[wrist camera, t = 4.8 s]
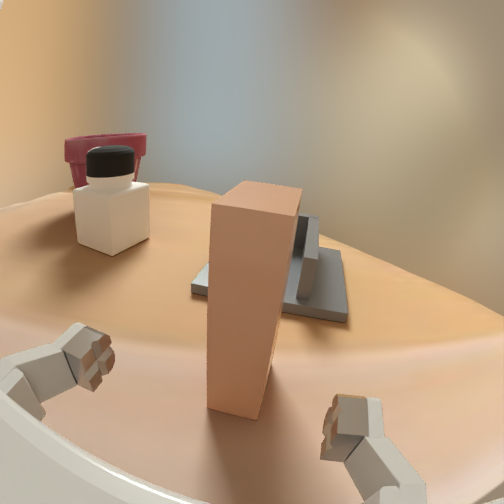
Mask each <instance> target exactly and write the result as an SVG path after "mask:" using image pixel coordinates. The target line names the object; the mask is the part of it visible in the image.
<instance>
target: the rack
mask: <svg viewBox="0 0 504 504" xmlns="http://www.w3.org/2000/svg"><path fill="white" fill-rule="evenodd" d="M208 272H209V262H208V263H207V264H206V265H205V267H204V268H203V269H202V270H201V271H200V273H199V274H198V275H197V276H196V278H195V279H194V280H193V281H192V283H191V292H192V293H196V294H200V295H205V296H208ZM282 312H286V313H292V314H297V315H303V316H308V317H314V318H319V319H325V320H331V321H337V322H343V323H345V321H346V318H347V315H348V308H347V299H346V290H345V282H344V274H343V267H342V260H341V253H340V251H339V250H334V249H328V248H323V247H319V216H315V215H309V214H304V213H299V216H298V222H297V228H296V234H295V240H294V247H293V252H292V258H291V264H290V270H289V276H288V281H287V287H286V292H285V298H284V303H283V308H282Z"/></svg>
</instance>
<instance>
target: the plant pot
mask: <svg viewBox="0 0 504 504" xmlns="http://www.w3.org/2000/svg"><path fill="white" fill-rule="evenodd" d="M108 145H125V146H129V147H131V148H133V149H134V151H135V162H134V179H132V182H136V179H137V174H138V169H139V164H140V159H141V156H144V155H145V154H146V134H145V133H124V134H102V135H90V136H80V137H73V138H68V139H66V140H65V161H66V162H69V163H70V168H71V173H72V177H73V182H74V186H75V189H76V188H80V187H83V186H87V185H89V183H87V180H86V154H87V152H88V151H90V150H91V149H93V148H96V147H101V146H108Z"/></svg>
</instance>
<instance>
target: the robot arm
mask: <svg viewBox="0 0 504 504" xmlns="http://www.w3.org/2000/svg"><path fill="white" fill-rule="evenodd" d="M2 4H3V0H0V9H1V7H2ZM111 343H112V342H111V339H110V336H109V335H107V334H104V333H102V332H100V331H97V330H95V329H93V328H91V327H88V326H86V325H84V324H82V323H79V322H77V323H74V324H73V325H72V326H71V327H70V328H69V329H68V330H67V331H66V332H64V333H63V334H62V335H61V336H60V337H59V338H58V339H57V340H56V341H55V342H54V343H53V344H52V345H51V344H45V345H42V346H39V347H35V348H32V349H28V350H25V351H22V352H18V353H15V354H11V355H8V356H4V357H3V358H2V359H0V504H211V503H207V502H204V501H201V500H197V499H194V498H191V497H188V496H185V495H182V494H179V493H176V492H173V491H171V490H168V489H165V488H162V487H160V486H157V485H155V484H152V483H150V482H148V481H145V480H143V479H140V478H138V477H136V476H134V475H131V474H129V473H127V472H125V471H123V470H121V469H119V468H117V467H115V466H113V465H111V464H109V463H107V462H105V461H103V460H101V459H99V458H97V457H96V456H94V455H92V454H90V453H88V452H87V451H85V450H83V449H82V448H80V447H78V446H77V445H75V444H73V443H72V442H70V441H68V440H67V439H65V438H64V437H62V436H61V435H59V434H58V433H56V432H55V431H53V430H52V429H50V428H49V427H47V426H46V425H45V424H43V423H42V422H40V421H41V420H42V419H43V417H44V416H45V415H46V412H45V410H44V408H43V407H42V405H41V402H44V401H46V400H48V399H50V398H52V397H54V396H56V395H58V394H60V393H62V392H64V391H66V390H69V389H71V388H73V387H75V386H77V385H79V386H81V387H83V388H85V389H88V390H90V391H92V392H94V391H95V390H96V389H97V387H98V386H99V385H100V384H101V382H102V376H103V375H106V374H109V372H110V371H111V370H112V368H113V365H114V362H115V354H114V351H113V350H112V348H111V347H110V344H111ZM322 433H323V435H324V436H325V438H324V440H323V442H322V443H321V454H320V460H328V461H336V462H344V465H345V467H346V469H347V471H348V472H349V474H350V476H351V478H352V480H353V482H354V483H355V485H356V487H357V489H358V491H359V493H360V494H361V496H362V498H363V500H364V502H363V503H362V504H427V493H426V483H425V482H424V480H423V479H422V478H421V477H420V476H419V474H418V473H417V472H416V471H415V469H414V468H413V467H412V466H411V464H410V463H409V462H408V461H407V460H406V458H405V457H404V456H403V455H402V453H401V452H400V451H399V450H398V448H397V447H396V446H395V445H394V443H393V442H392V441H391V440H390V438H387V437H385V433H384V422H383V413H382V404H381V400H380V398H372V397H364V396H353V395H344V394H336V395H335V397H334V399H333V402H332V407H330V408H329V409H328V411H327V413H326V416H325V419H324V424H323V432H322ZM484 504H504V497H503V498H500V499H496V500H494V501H490V502H487V503H484Z"/></svg>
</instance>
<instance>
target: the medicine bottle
mask: <svg viewBox="0 0 504 504" xmlns="http://www.w3.org/2000/svg"><path fill="white" fill-rule="evenodd" d="M134 162H135V151H134V149H133V148H131V147H129V146H125V145H108V146H101V147H96V148H93V149H91V150H90V151H88V152H87V154H86V180H87V183H89V185H87V186H83V187H80V188H76V189H74V190H73V200H74V212H75V222H76V231H77V239H78V243H80V244H82V245H85V246H87V247H90V248H92V249H95V250H97V251H100V252H102V253H105V254H108V255H110V256H114V255H116V254H118V253H120V252H122V251H124V250H126V249H128V248H130V247H131V246H133V245H135V244H137V243H139V242H141V241H143V240H145V239H147V238H149V237H150V220H149V185H148V184H145V183H139V182H132V179H134Z"/></svg>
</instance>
